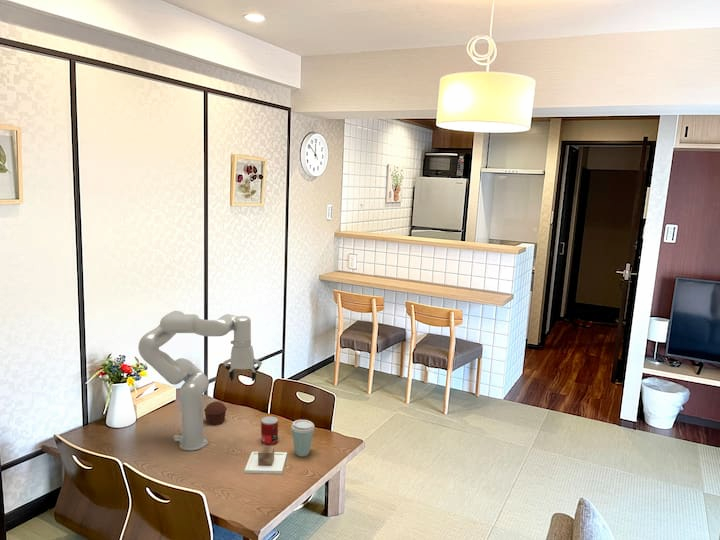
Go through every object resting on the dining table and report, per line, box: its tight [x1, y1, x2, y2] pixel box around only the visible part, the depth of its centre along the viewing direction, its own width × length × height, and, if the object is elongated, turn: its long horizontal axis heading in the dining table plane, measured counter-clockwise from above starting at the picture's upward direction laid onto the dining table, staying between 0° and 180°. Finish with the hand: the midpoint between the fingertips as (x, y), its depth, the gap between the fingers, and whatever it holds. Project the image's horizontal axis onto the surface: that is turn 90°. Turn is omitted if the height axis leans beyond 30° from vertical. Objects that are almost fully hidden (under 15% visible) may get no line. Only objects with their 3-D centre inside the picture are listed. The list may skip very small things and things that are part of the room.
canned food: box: [260, 415, 279, 446], centre depth 259 cm, size 8×8×11 cm
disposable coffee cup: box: [290, 419, 315, 457], centre depth 248 cm, size 11×11×15 cm
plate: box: [244, 451, 288, 475], centre depth 239 cm, size 16×16×1 cm
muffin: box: [203, 401, 228, 426], centre depth 279 cm, size 12×11×10 cm
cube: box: [257, 445, 275, 466], centre depth 239 cm, size 6×6×6 cm
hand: (242, 379), depth 248 cm, fingers open, 9 cm apart
